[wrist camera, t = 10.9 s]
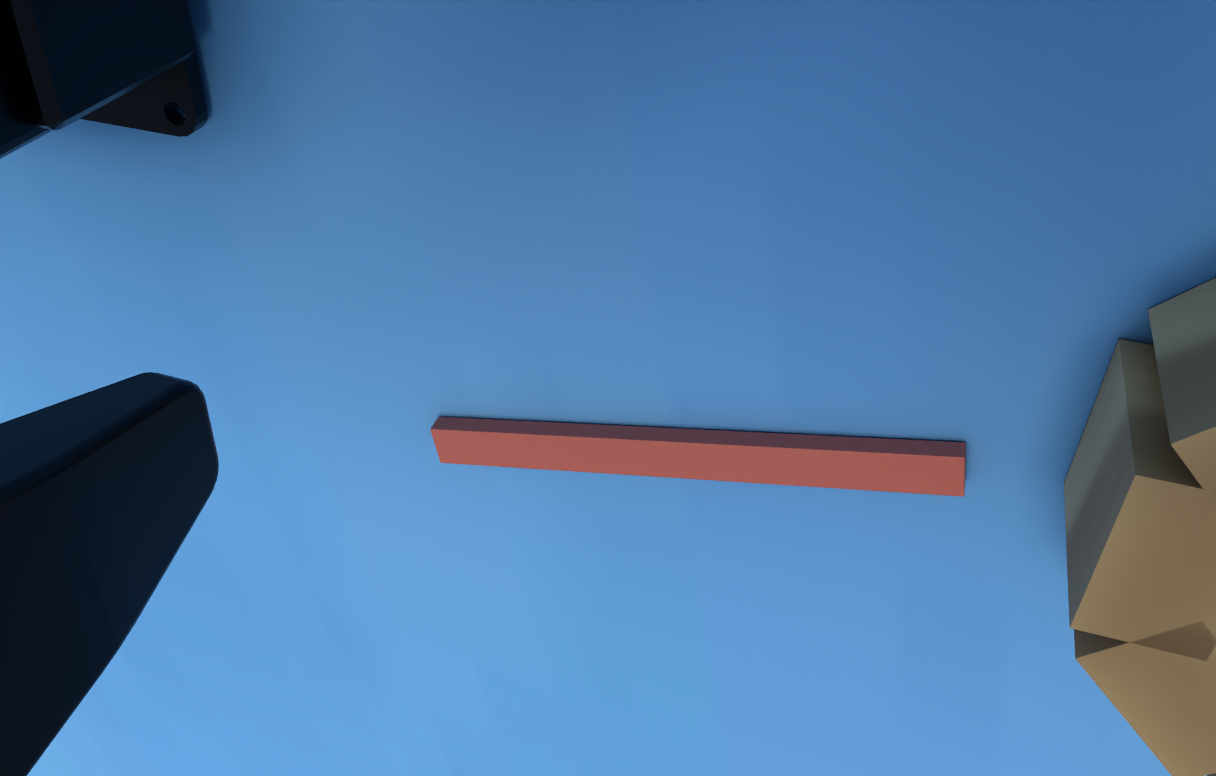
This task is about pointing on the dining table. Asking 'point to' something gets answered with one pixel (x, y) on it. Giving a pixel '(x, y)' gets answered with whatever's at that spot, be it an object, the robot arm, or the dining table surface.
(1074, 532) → the tan segmented ring
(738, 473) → the brick-red rectangular plank
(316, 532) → the dining table surface
